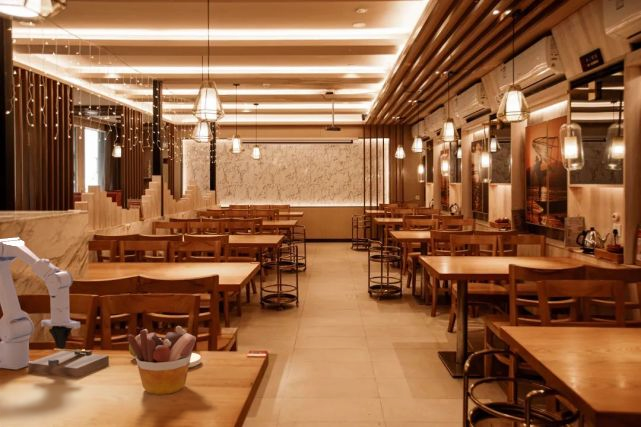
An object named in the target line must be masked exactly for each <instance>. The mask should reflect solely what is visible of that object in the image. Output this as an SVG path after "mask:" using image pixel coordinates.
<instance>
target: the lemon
mask: <svg viewBox="0 0 641 427" xmlns="http://www.w3.org/2000/svg"><path fill="white" fill-rule="evenodd" d="M137 336H138V335H136V336H134V337H135V339H136V340H137V338H136V337H137ZM128 351H129V354H130V355H131V356H133V357H135V356H136V354H135V352H134V351H133V349H132V347H131V345H130V343H129V345H128Z"/></svg>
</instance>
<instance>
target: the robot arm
mask: <svg viewBox="0 0 641 427" xmlns="http://www.w3.org/2000/svg"><path fill="white" fill-rule="evenodd" d="M17 259H19V260H20V261H22V262H23V263H25V264H27V265H28V266H30V267H31V268H32V269H31V270H32V273H33V274H34V275H35V276H37V277H39V278H40V279H42V280H43V281H44V284H45V286H46V289H47V291H48V295H49V297H50V298H49V299H50V301H49V302H50V303H49V304H50V319H48V318H47V319H43V320H41V321H40V326H41V327H51V328H49V329H48V332H49V333H50V334H51V337H52V338H53V340H54V343H55V346H56V348H57V349H66V345H67V341H68V339H69V338H68V337H69V335H70V333H71V331H72V329H74V330H76V329H81V321H76V320H73V319H71V317H70V316H71V314H70V287H71V286H73V281H74V278H73V275H72V273H70V272H69V270H62V269H60V268H59V267H57V266H56V265H54V264H53V263H51V260H50V259H47V258H41V259H40V258H39V257H38V256H37V255H36V254H35V253H34V252H32V251H31V250H30V248H28V247H27V246H26V242H25V241H24V240H22V239H20V237H12V238H11V237H10V238H0V307H1V311H2V314H3V315H2V317H1V318H0V340H1V341H0V369H7V370H20V369H22V368H25V367H28V363H29V362H32V361H33V360H31V361H30V345H29V344H30V340H29V339H30V338H31V335H32V334H33V333H34V331H35V325H34V323H33V321H32V320H31V318H30V315H29V313H28V312H26V311H24V310H22V309H21V304H20V302H19V298H18V294H17V290H16V287H15V284H14V280H13V276H12V273H11V272H12V271H11V269H10V266H11V264H12V263H14V262H15V261H16V260H17Z"/></svg>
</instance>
